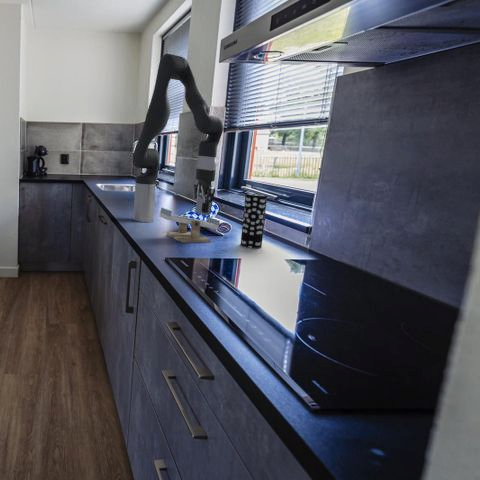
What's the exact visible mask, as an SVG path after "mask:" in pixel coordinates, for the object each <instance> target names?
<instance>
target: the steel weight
mask: <svg viewBox="0 0 480 480" xmlns="http://www.w3.org/2000/svg"><path fill="white" fill-rule="evenodd" d="M213 202H214V200H213V201H212V202H210V203H209V208H208V213H203V212H202V210H203V198H199V197H198V200H196V206H195V208H194V209H195V210H194V212H195V213H196V214H199V215H204V216H208V217H210V215H211V211H212V205H213Z"/></svg>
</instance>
